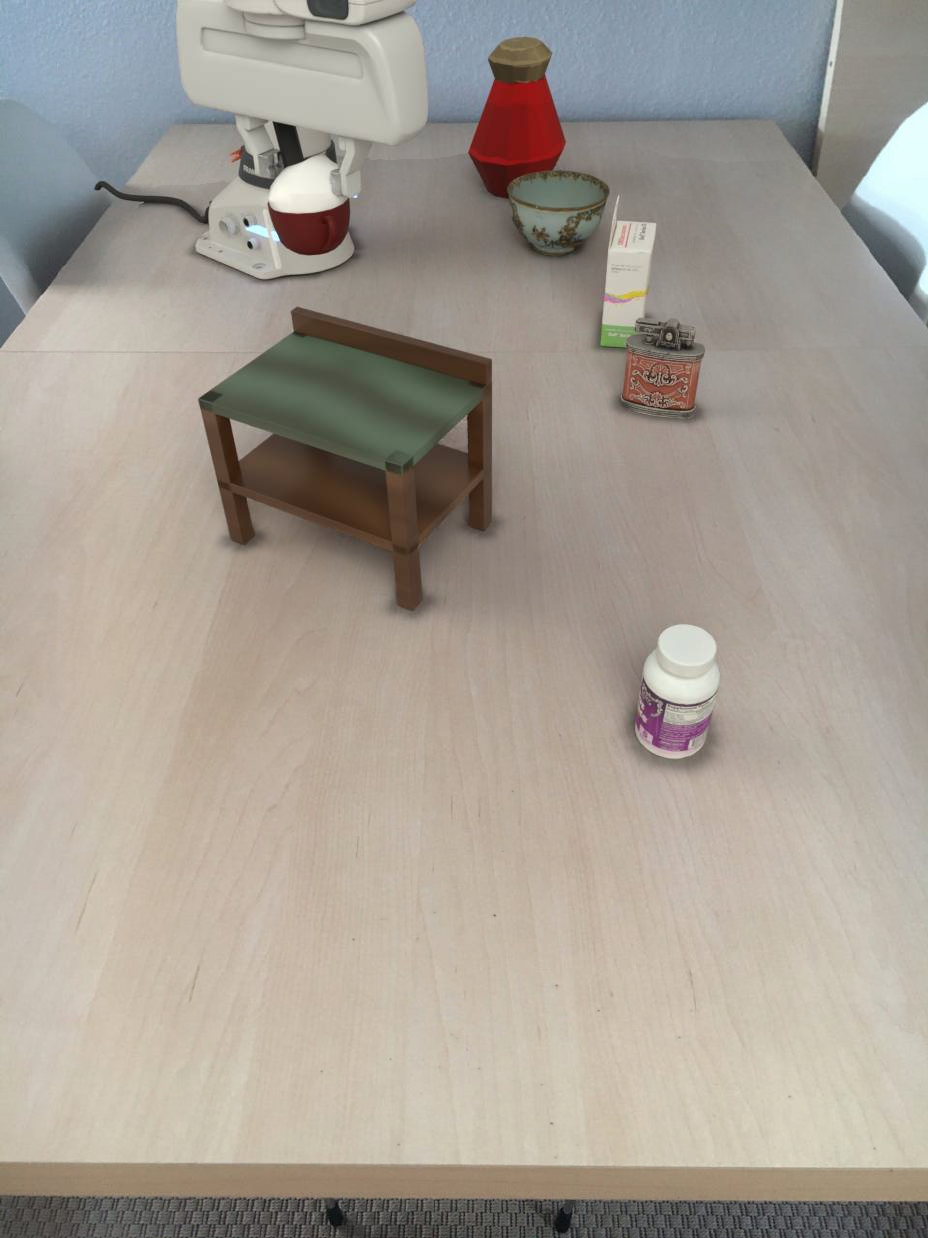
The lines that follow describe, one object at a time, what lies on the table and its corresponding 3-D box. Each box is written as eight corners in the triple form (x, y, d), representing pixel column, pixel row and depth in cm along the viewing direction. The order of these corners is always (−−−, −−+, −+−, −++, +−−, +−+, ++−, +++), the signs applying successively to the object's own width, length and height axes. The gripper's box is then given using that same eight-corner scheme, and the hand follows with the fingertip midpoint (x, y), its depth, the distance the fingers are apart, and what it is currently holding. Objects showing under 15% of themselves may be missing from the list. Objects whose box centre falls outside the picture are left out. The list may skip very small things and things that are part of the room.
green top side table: (412, 611, 84) (400, 443, 73) (230, 540, 92) (192, 376, 80) (492, 522, 93) (492, 358, 81) (319, 463, 100) (296, 305, 89)
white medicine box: (641, 350, 116) (656, 224, 106) (598, 347, 117) (609, 221, 106) (646, 316, 122) (660, 194, 112) (606, 313, 123) (616, 191, 112)
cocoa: (354, 268, 75) (341, 95, 67) (271, 271, 75) (248, 98, 67) (351, 221, 82) (339, 59, 74) (275, 224, 82) (254, 61, 74)
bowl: (491, 259, 135) (491, 199, 129) (524, 221, 143) (526, 164, 138) (588, 274, 131) (592, 213, 125) (616, 234, 140) (621, 176, 134)
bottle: (519, 163, 161) (522, 22, 147) (583, 184, 154) (592, 38, 140) (449, 190, 153) (446, 44, 139) (513, 213, 146) (515, 62, 132)
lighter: (697, 405, 107) (711, 319, 100) (691, 421, 105) (705, 334, 98) (623, 393, 109) (632, 308, 102) (616, 409, 107) (625, 323, 100)
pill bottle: (627, 709, 76) (640, 618, 69) (695, 704, 76) (714, 613, 70) (642, 765, 72) (657, 674, 65) (714, 759, 72) (736, 668, 66)
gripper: (138, -38, 68) (178, 172, 77) (381, -3, 60) (393, 225, 69) (202, -52, 72) (233, 149, 81) (438, -22, 64) (442, 197, 73)
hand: (308, 185), depth 75 cm, fingers closed on cocoa, 6 cm apart
